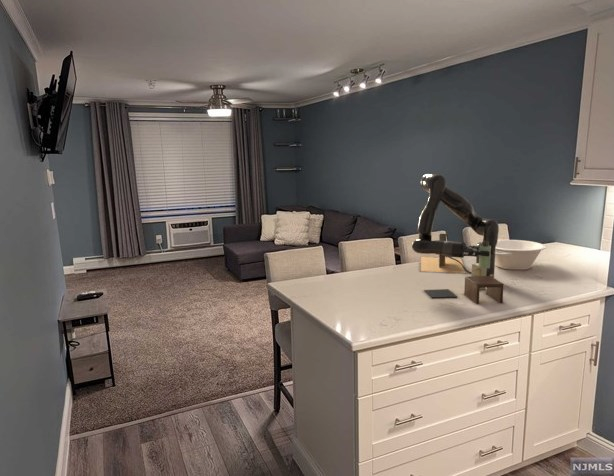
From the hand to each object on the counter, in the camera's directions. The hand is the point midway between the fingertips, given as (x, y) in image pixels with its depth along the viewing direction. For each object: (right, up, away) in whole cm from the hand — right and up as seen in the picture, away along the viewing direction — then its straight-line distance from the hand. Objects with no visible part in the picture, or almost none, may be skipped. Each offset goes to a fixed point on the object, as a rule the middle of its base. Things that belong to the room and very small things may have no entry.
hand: (491, 252), depth 194 cm
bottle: (-2, -7, +3) cm, 7 cm away
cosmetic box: (+3, -19, +22) cm, 29 cm away
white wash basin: (+40, -11, +63) cm, 75 cm away
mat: (-19, -21, +14) cm, 31 cm away
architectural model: (+1, -10, +73) cm, 73 cm away
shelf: (-1, -22, +5) cm, 22 cm away
